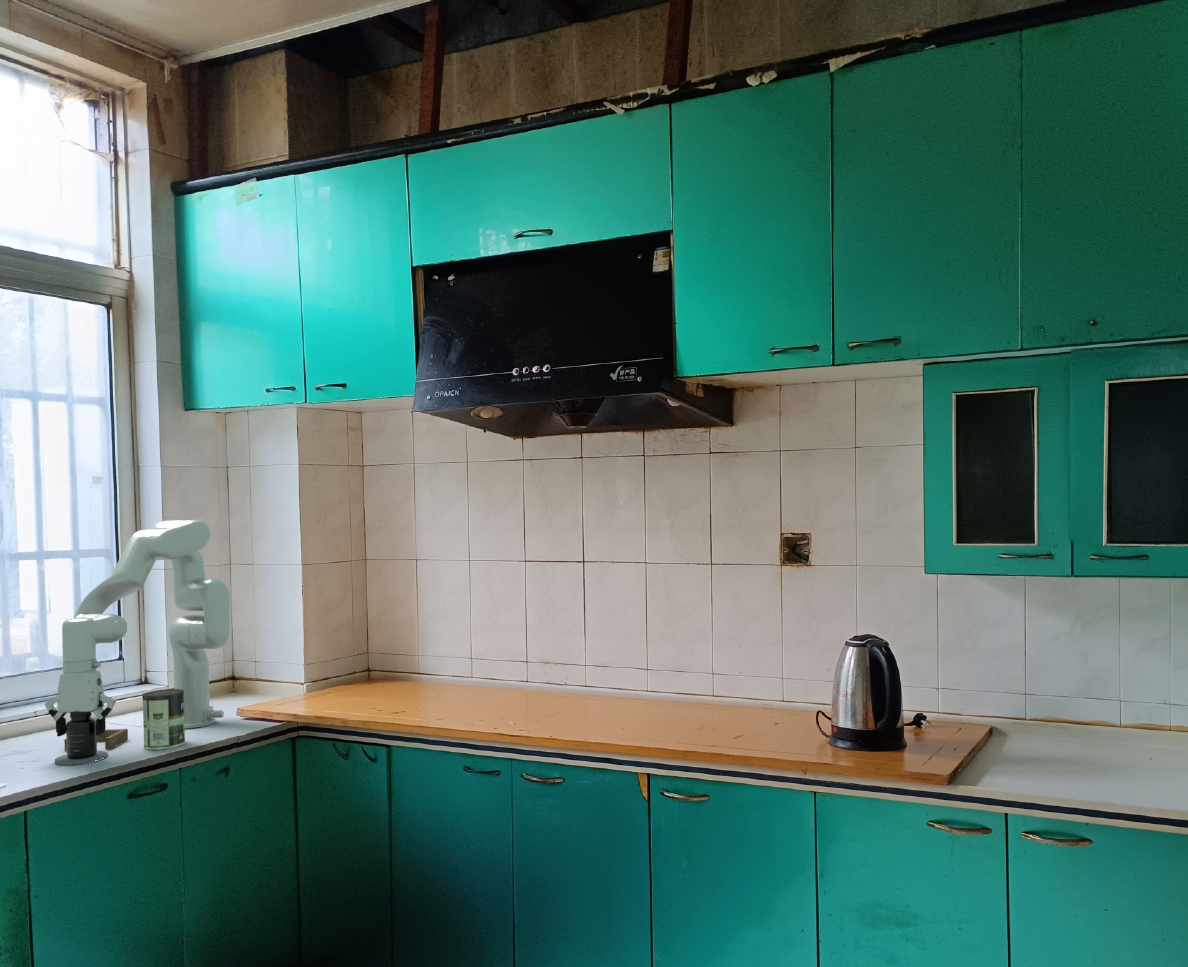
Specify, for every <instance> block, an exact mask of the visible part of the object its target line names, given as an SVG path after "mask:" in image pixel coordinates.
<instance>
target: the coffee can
mask: <svg viewBox="0 0 1188 967" xmlns="http://www.w3.org/2000/svg"><path fill="white" fill-rule="evenodd" d="M141 696H142V716H143V717H142V718H143V722H142V723H143V725H142V726H143V749H144V748H145V749H144V750H147V749H148V750H149V751H159V750H160V751H161V750H162V749H163V750H170V749H175V748H179V747H181V746H184V745H185V744H186V741H185V740H186V737H185V736H186V734H185V731H186V730H185V729H184V690H181V689H174V688H168V689H167V688H165V689H159V690H158V689H156V690H151V691H148V692H145V693H142V694H141ZM169 748H170V749H169Z"/></svg>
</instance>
